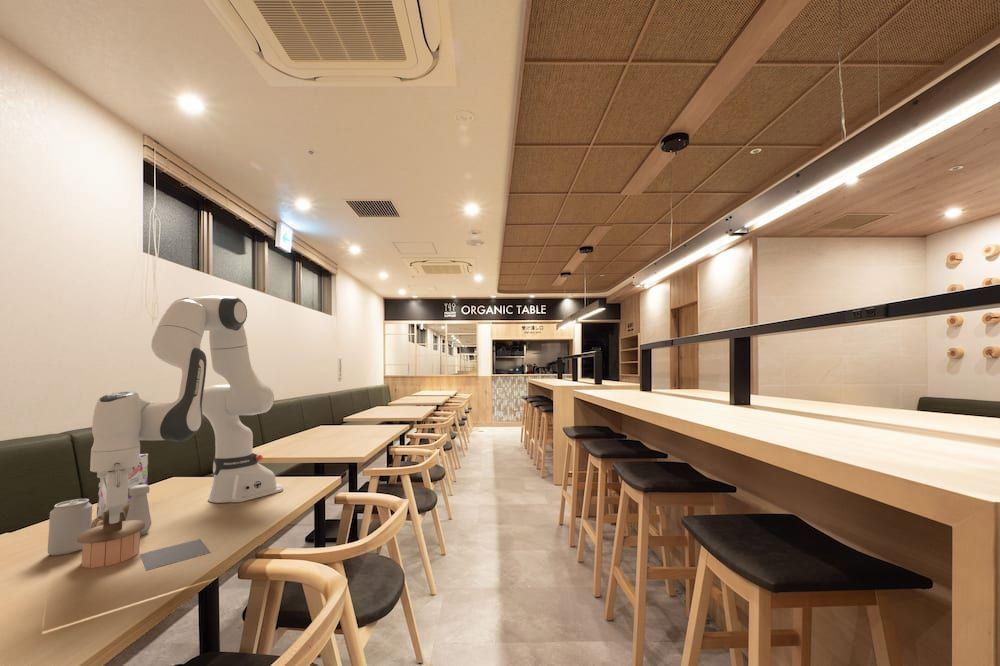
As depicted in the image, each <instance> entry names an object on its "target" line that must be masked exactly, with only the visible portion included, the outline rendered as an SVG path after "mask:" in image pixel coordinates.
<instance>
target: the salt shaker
mask: <svg viewBox="0 0 1000 666" xmlns="http://www.w3.org/2000/svg"><path fill="white" fill-rule="evenodd" d="M150 490H151V489H150V485H149V484H147V485H146V484H142V485H136V486H133V487H131V488H130V490H129V495H130V496H132V498H131V502H130V506H129V510H128V514H127V518H126V521H128V520H141V521H144V522H145V528H144V529H143V530H141V531H140V537H141V536H144V535H147V534H148V533H149V531H150V528H151V526H152V518H151V513H150V507H149V501H148V495H147V494H149V493H150Z"/></svg>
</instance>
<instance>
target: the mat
mask: <svg viewBox="0 0 1000 666" xmlns="http://www.w3.org/2000/svg"><path fill="white" fill-rule="evenodd" d="M211 553H212V552H211V551H210V550H209V547H208V546H206V545H205V543H204V542H203V540H202V539H201V538H199V539H195V540H191V541H187V542H182V543H179V544H175V545H170V546H166V547H162V548H159V549H156V550H151V551H147V552H143V553H140V554H139V555H140V558H141V560H142V563H143V565H144V569H145V571H150V570H154V569H157V568H160V567H165V566H169V565H172V564H176V563H179V562H183V561H187V560H191V559H195V558H197V557H201V556H205V555H208V554H211Z"/></svg>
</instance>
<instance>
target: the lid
mask: <svg viewBox="0 0 1000 666" xmlns="http://www.w3.org/2000/svg"><path fill="white" fill-rule="evenodd" d="M122 518H123V511H122V509H121V511H120V519H119V522H118V523H113V524H110V523H109V511H108V512H104V517H103V525H101V526H97V527H95V526H94V527H91V529H88V530H86V531H84V532H82V533H80V534H79V535H78V536H77V542H79V543H99V542H106V541H111V540H115V539H119V538H123V537H126V536H129V535H132V534H135V533H137V532H139V531H141V530H143V529H144V528H145V522H144V521H141V520H128V521H122Z"/></svg>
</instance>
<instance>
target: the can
mask: <svg viewBox="0 0 1000 666" xmlns="http://www.w3.org/2000/svg"><path fill="white" fill-rule="evenodd" d="M89 501H90V499H89V498H76V499H70V500H65V501H61V502H58V503H56V504H55V505H53V509H52V510H50V512H49V523H48V540H47V541H48V542H47V554H49V555H51V556H52V557H56V556H64V555H69V554H74V553H76V552H79V551H82V543H79V542H77V536H78V535H79V534H80V533H82V532H84V531H86V530H88V529H91V528H92V522H93V521H92V520H93V519H92V517H93V504H92V503H91V502H89Z"/></svg>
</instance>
